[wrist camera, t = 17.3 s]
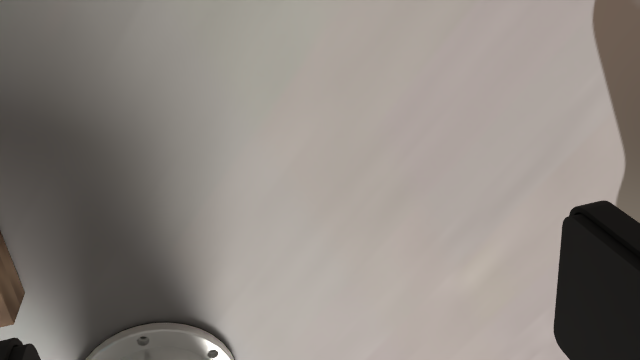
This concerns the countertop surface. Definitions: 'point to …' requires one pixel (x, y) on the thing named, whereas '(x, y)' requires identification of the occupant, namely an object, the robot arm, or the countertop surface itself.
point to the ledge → (8, 288)
